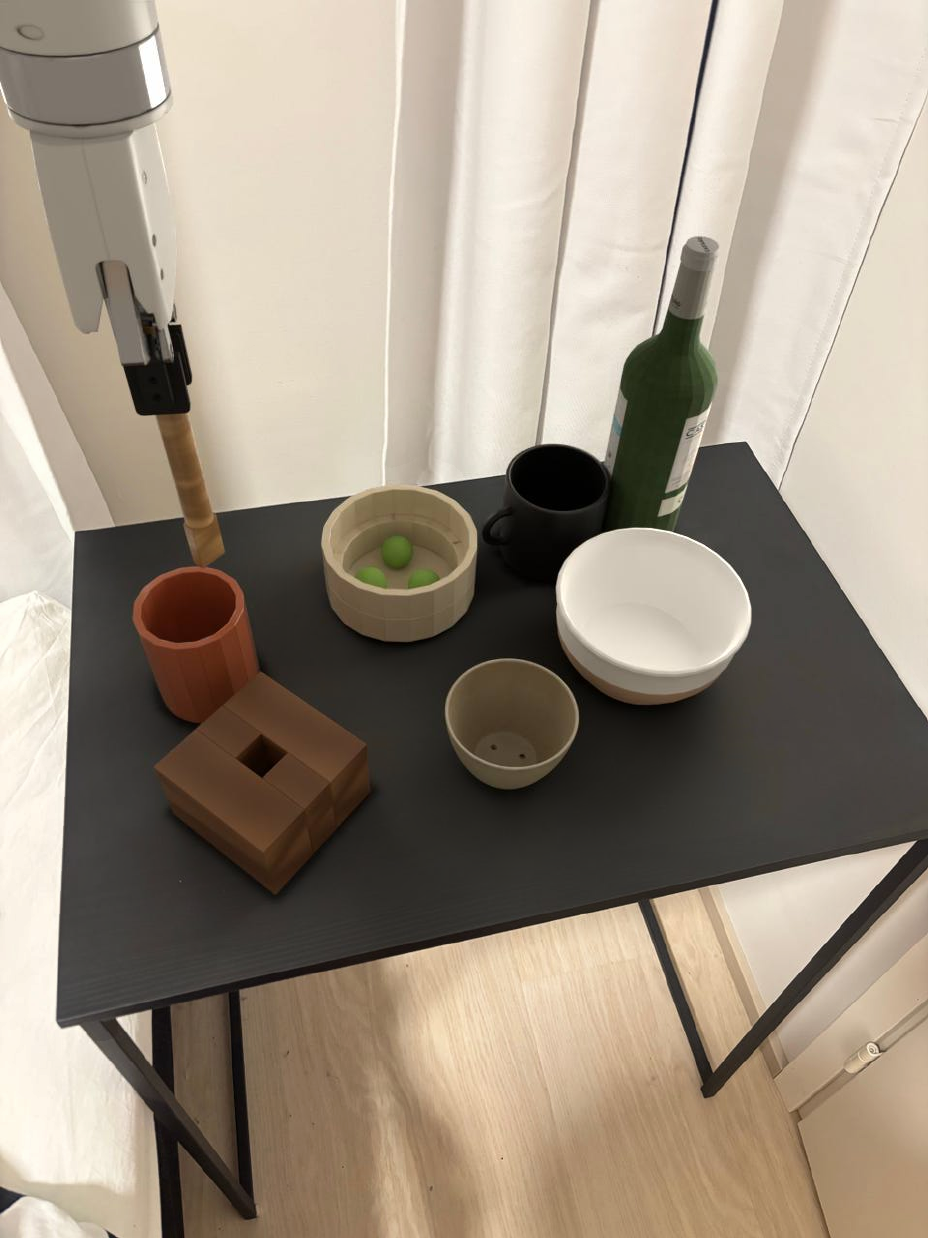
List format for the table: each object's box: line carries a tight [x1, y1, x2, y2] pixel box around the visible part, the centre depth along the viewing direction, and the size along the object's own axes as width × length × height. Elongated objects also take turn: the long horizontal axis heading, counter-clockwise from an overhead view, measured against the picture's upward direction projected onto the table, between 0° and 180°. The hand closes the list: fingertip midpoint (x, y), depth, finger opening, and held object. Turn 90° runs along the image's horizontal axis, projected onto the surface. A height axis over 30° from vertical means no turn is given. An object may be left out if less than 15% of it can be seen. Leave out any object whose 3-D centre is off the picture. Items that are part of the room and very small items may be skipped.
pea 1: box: [354, 567, 387, 589], centre depth 83 cm, size 3×3×3 cm
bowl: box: [555, 528, 752, 706], centre depth 79 cm, size 16×16×8 cm
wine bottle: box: [601, 235, 721, 534], centre depth 80 cm, size 8×8×30 cm
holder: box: [153, 671, 371, 896], centre depth 68 cm, size 11×11×7 cm
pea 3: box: [408, 569, 440, 590], centre depth 83 cm, size 3×3×3 cm
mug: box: [481, 443, 610, 582], centre depth 86 cm, size 9×12×9 cm
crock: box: [132, 565, 261, 724], centre depth 74 cm, size 8×8×10 cm
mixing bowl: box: [320, 484, 478, 643], centre depth 83 cm, size 13×13×7 cm
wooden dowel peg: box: [142, 326, 226, 569], centre depth 60 cm, size 2×2×20 cm
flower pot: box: [444, 658, 580, 790], centre depth 71 cm, size 10×10×7 cm
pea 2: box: [381, 535, 413, 568], centre depth 85 cm, size 3×3×3 cm
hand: (165, 395), depth 57 cm, fingers closed on wooden dowel peg, 2 cm apart
